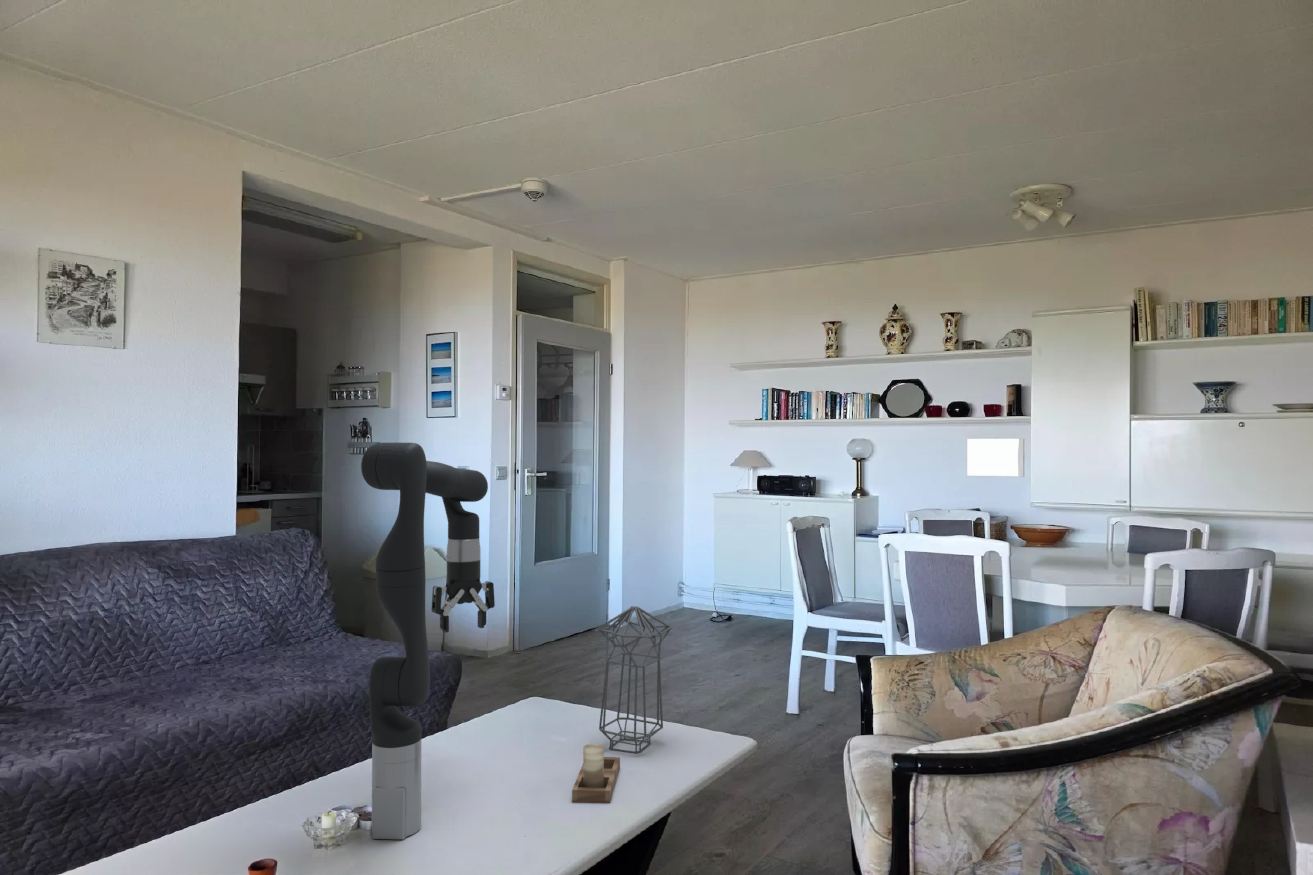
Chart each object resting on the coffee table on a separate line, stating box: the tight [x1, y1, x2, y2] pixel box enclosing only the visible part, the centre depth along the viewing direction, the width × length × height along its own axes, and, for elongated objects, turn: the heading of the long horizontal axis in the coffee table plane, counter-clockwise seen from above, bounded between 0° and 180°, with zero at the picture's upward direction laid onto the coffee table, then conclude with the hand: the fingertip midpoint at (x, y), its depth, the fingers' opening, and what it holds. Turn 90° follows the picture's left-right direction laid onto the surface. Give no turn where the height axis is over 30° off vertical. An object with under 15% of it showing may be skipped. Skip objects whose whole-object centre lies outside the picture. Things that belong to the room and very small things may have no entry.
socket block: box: [571, 756, 621, 804], centre depth 189 cm, size 20×8×2 cm, turn 177°
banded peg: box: [582, 743, 605, 788], centre depth 184 cm, size 4×4×10 cm
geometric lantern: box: [594, 606, 673, 754], centre depth 214 cm, size 16×16×35 cm
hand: (463, 629), depth 195 cm, fingers open, 8 cm apart
